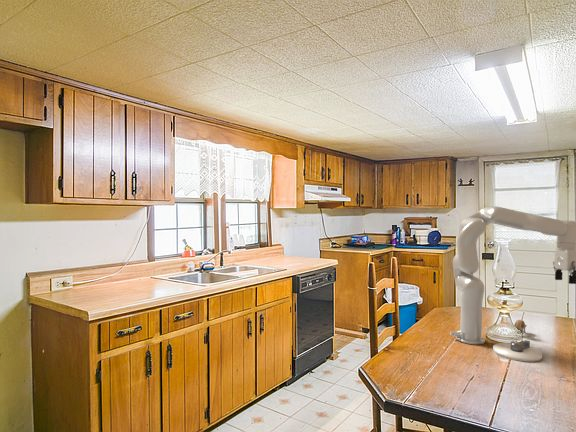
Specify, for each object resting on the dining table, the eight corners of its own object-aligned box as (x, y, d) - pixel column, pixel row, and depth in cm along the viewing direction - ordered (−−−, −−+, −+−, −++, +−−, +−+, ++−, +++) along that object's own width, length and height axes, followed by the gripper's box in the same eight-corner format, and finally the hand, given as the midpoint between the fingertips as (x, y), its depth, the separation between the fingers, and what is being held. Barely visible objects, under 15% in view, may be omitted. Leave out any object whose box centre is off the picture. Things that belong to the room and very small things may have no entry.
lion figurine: (526, 339, 198) (526, 321, 198) (514, 337, 201) (514, 319, 201) (525, 331, 211) (526, 314, 211) (514, 330, 214) (514, 313, 214)
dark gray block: (518, 352, 175) (519, 344, 175) (508, 348, 179) (508, 341, 179) (533, 349, 180) (533, 341, 180) (522, 345, 184) (522, 338, 184)
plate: (505, 360, 169) (505, 357, 169) (485, 345, 188) (485, 342, 188) (551, 362, 168) (551, 359, 168) (527, 347, 187) (527, 343, 187)
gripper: (547, 244, 200) (546, 278, 200) (571, 247, 182) (570, 285, 183) (562, 244, 199) (561, 278, 200) (587, 248, 182) (586, 285, 183)
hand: (565, 281), depth 191 cm, fingers open, 9 cm apart
